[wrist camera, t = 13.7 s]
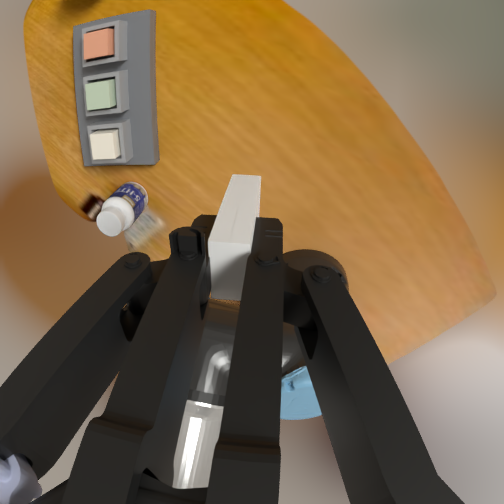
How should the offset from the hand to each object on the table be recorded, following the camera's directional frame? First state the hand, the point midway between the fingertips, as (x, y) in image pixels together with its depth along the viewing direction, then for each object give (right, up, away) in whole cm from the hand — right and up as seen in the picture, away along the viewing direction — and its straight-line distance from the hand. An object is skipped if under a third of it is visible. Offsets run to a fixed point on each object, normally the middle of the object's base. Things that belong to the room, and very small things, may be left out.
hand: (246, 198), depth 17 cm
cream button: (-19, +13, +22) cm, 32 cm away
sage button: (-19, +18, +18) cm, 32 cm away
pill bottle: (-18, +6, +30) cm, 36 cm away
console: (-19, +20, +20) cm, 34 cm away
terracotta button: (-19, +24, +14) cm, 34 cm away
